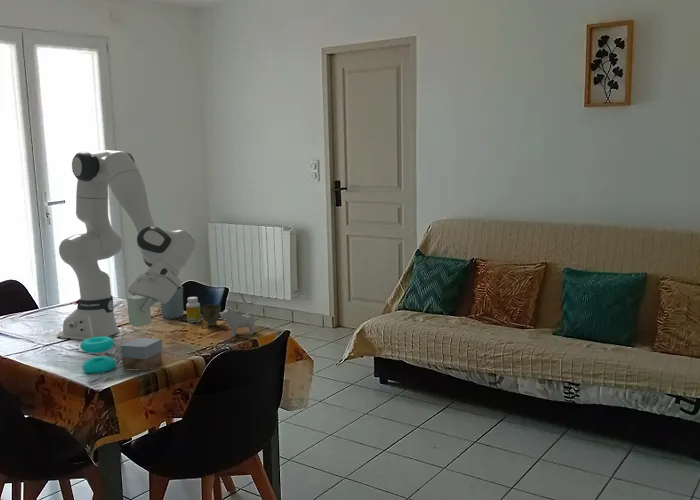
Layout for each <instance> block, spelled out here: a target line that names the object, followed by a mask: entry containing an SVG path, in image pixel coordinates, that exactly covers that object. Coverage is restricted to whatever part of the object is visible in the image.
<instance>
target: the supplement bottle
mask: <svg viewBox="0 0 700 500" xmlns="http://www.w3.org/2000/svg"><path fill="white" fill-rule="evenodd" d="M198 301H199V299H198V297H197V296H189V297H187V303H186V306H185V308H186V320H187V323H189V322H190V324H195V323H194V322H196V323H200V322H201V321H202V317H201V316H202V315H201V313H202V311H201V303H200V302H198Z"/></svg>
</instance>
